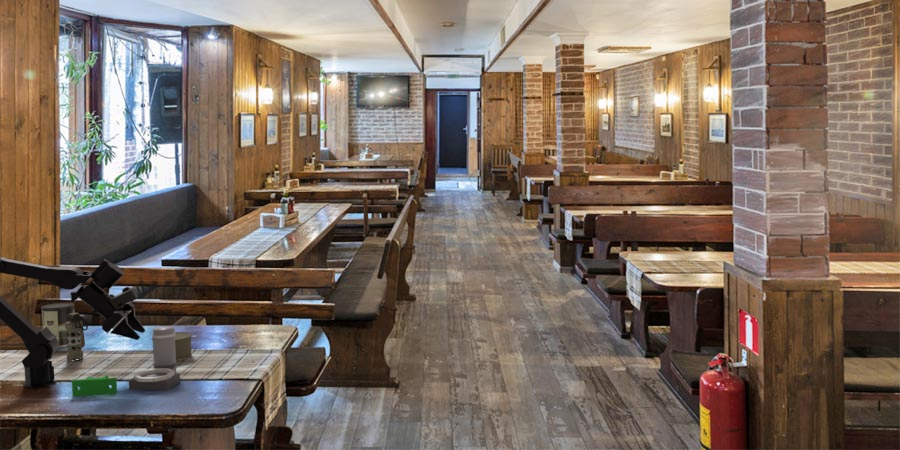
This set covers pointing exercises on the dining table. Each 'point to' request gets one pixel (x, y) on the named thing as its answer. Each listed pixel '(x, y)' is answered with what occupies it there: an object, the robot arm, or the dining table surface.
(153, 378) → the octagonal tray on plate
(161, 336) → the lens
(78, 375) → the dining table surface
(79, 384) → the pipe clamp
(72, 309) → the coffee can
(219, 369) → the dining table surface
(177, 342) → the can
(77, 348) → the grenade model
